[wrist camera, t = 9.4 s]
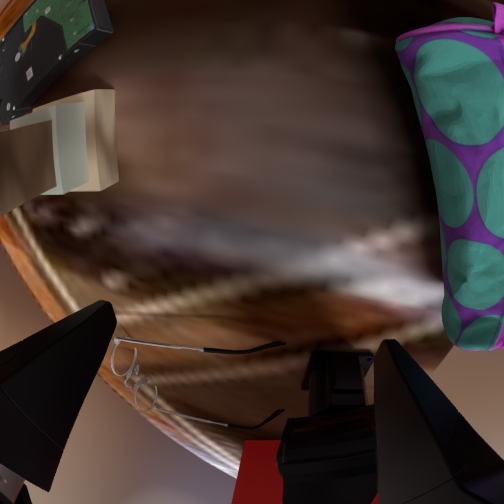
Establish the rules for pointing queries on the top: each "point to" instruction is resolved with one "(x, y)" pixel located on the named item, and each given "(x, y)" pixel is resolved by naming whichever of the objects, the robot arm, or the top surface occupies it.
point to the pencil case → (465, 164)
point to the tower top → (64, 143)
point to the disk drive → (46, 48)
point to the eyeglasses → (211, 350)
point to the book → (260, 474)
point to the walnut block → (25, 164)
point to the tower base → (97, 136)
